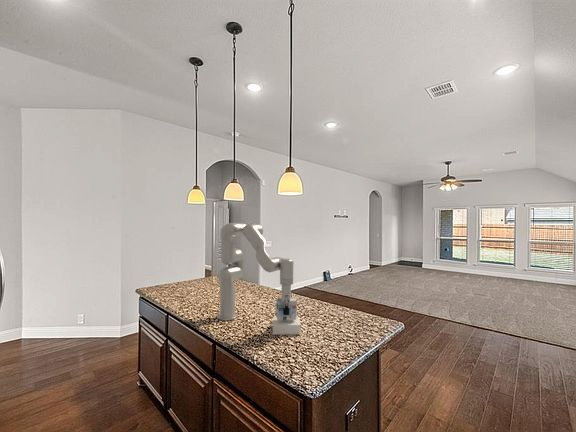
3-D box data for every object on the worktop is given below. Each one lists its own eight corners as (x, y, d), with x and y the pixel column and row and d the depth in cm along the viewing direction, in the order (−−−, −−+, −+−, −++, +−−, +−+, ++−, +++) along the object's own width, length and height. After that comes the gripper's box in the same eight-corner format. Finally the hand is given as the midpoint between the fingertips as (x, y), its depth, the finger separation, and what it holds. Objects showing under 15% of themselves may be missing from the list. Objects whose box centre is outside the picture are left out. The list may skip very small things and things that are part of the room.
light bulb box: (278, 321, 153) (278, 301, 153) (275, 317, 159) (275, 298, 159) (297, 319, 155) (297, 300, 155) (293, 315, 162) (293, 297, 162)
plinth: (273, 325, 163) (273, 316, 163) (299, 325, 164) (299, 316, 164) (272, 334, 150) (272, 325, 150) (300, 334, 151) (300, 325, 151)
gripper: (280, 277, 166) (279, 307, 166) (279, 284, 149) (279, 317, 148) (292, 277, 166) (292, 307, 166) (293, 284, 149) (293, 317, 149)
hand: (286, 312), depth 157 cm, fingers closed on light bulb box, 7 cm apart
